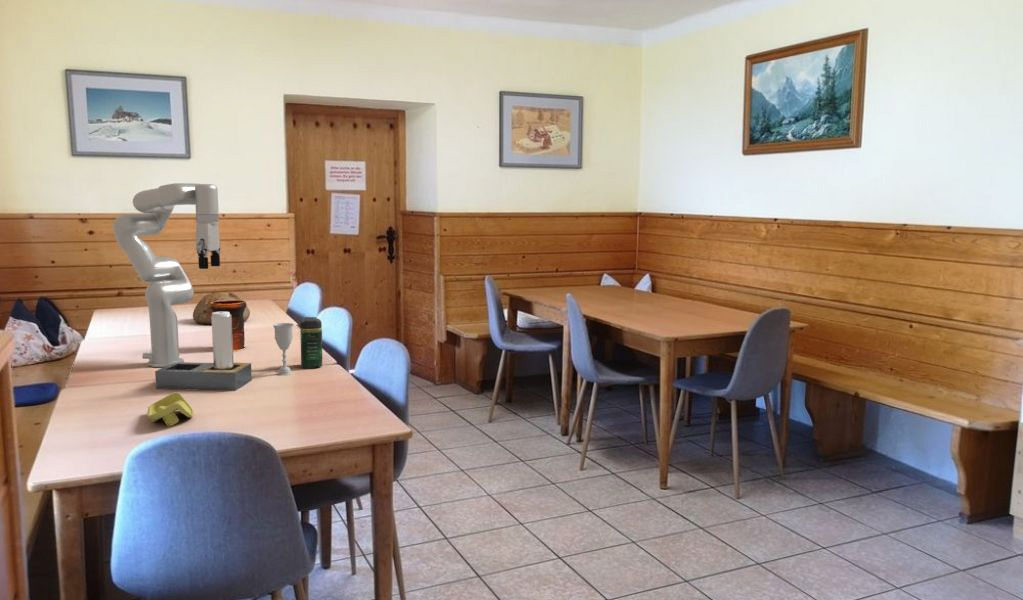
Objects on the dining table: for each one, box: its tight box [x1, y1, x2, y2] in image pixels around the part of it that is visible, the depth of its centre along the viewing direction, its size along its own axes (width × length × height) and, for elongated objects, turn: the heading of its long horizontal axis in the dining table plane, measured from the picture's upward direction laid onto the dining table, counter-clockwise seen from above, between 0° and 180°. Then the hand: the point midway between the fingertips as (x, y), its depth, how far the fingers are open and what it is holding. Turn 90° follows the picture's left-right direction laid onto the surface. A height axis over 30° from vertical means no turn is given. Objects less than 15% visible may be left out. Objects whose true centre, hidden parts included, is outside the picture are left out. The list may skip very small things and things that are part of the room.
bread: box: [192, 291, 251, 325], centre depth 394 cm, size 26×23×15 cm
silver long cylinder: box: [211, 312, 235, 370], centre depth 265 cm, size 6×6×25 cm
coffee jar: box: [299, 316, 323, 369], centre depth 295 cm, size 10×8×19 cm
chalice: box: [272, 322, 294, 376], centre depth 283 cm, size 7×7×18 cm
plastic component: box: [146, 391, 195, 428], centre depth 226 cm, size 20×7×10 cm
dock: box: [154, 361, 253, 391], centre depth 267 cm, size 27×14×6 cm, turn 87°
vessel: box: [210, 300, 247, 352], centre depth 327 cm, size 14×14×20 cm
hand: (209, 267), depth 280 cm, fingers open, 9 cm apart
